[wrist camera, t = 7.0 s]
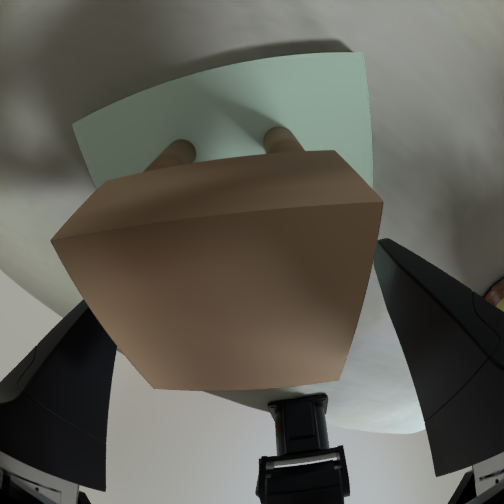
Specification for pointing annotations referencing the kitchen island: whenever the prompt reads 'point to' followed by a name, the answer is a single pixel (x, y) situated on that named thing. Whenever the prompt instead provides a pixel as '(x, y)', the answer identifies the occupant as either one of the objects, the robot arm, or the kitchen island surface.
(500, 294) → the sauce bottle
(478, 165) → the kitchen island surface
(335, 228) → the stool
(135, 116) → the pad
